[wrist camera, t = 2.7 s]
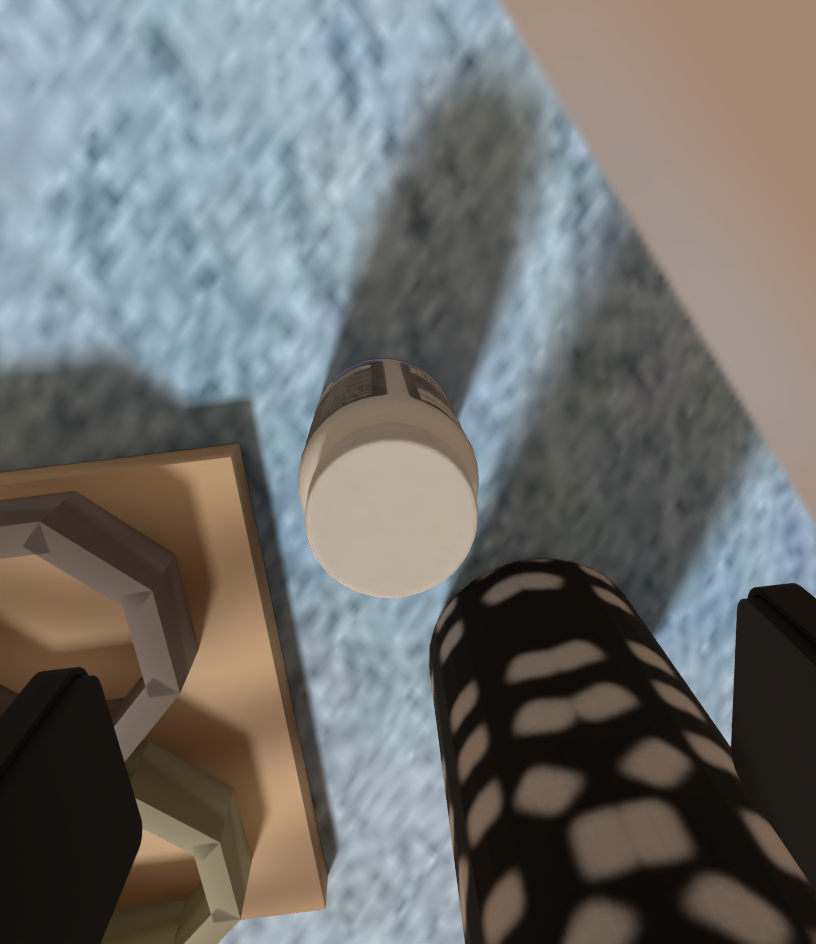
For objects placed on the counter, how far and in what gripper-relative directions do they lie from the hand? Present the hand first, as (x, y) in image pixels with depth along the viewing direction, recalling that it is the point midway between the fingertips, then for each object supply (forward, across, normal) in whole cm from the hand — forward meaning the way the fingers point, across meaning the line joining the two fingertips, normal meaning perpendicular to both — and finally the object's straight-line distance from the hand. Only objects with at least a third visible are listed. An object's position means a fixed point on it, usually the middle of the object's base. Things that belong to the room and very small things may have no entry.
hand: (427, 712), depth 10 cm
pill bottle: (+15, 0, -1) cm, 15 cm away
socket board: (+14, +12, +9) cm, 21 cm away
